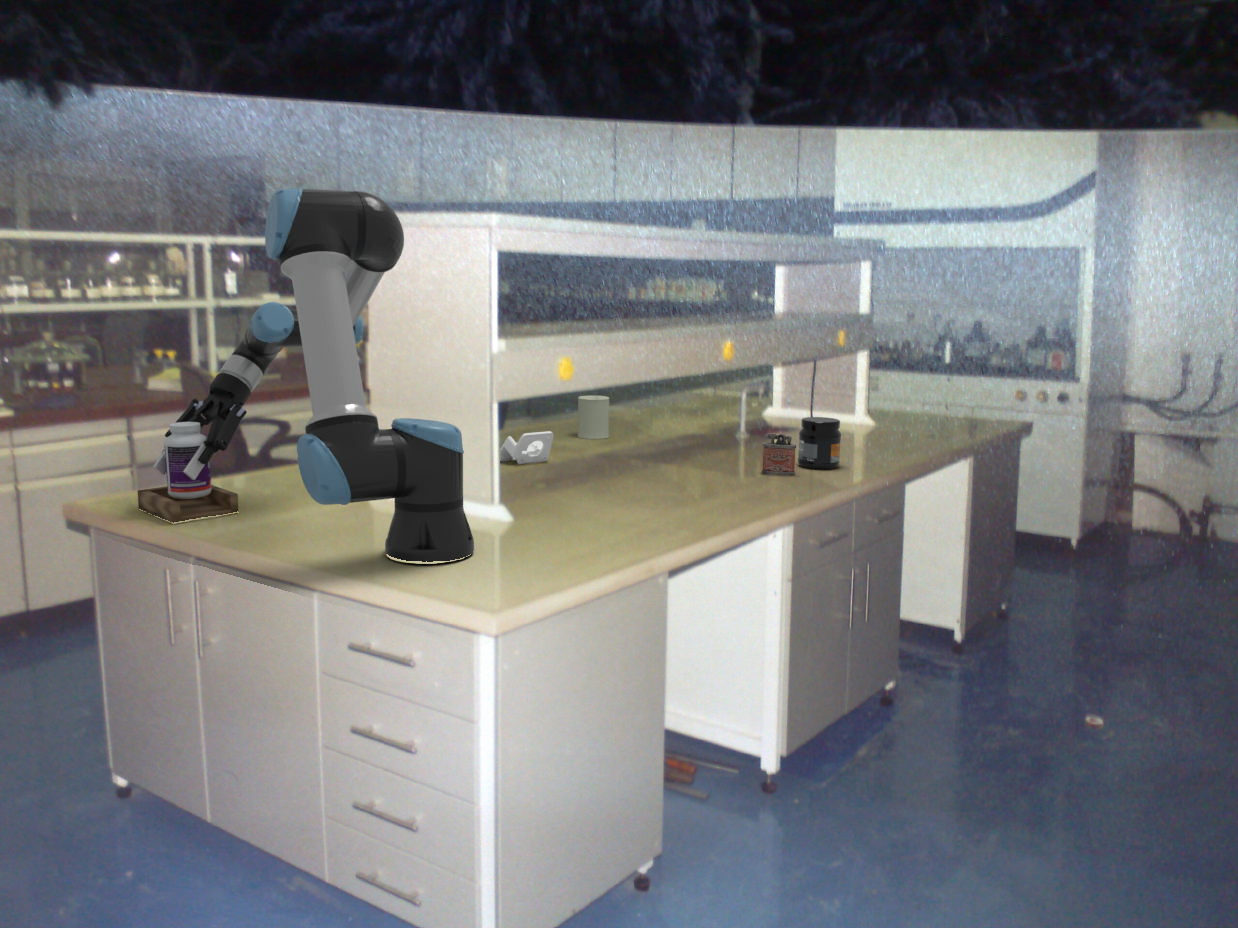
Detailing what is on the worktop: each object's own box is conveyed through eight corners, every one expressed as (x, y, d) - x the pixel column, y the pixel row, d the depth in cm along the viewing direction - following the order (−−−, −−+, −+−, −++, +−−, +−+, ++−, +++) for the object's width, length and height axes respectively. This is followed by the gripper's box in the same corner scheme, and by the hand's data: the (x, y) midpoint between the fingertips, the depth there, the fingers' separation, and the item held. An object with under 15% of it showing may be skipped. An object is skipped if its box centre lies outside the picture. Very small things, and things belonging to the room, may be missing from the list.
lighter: (795, 473, 254) (797, 433, 252) (794, 476, 251) (796, 435, 249) (762, 471, 256) (764, 431, 254) (760, 474, 253) (762, 433, 251)
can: (585, 440, 297) (586, 398, 295) (572, 435, 306) (572, 394, 303) (614, 438, 302) (615, 397, 299) (600, 433, 310) (600, 393, 307)
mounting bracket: (503, 472, 260) (511, 436, 255) (493, 458, 264) (500, 422, 259) (545, 468, 266) (554, 432, 261) (535, 454, 271) (543, 419, 265)
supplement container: (846, 466, 265) (849, 419, 262) (826, 472, 257) (829, 424, 254) (810, 460, 271) (812, 415, 269) (789, 466, 263) (791, 419, 261)
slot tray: (238, 513, 206) (237, 493, 205) (173, 524, 197) (171, 503, 196) (202, 500, 217) (201, 481, 216) (138, 510, 208) (137, 490, 207)
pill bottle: (219, 496, 206) (215, 424, 203) (179, 502, 200) (174, 428, 197) (199, 489, 211) (195, 419, 208) (160, 495, 205) (155, 423, 203)
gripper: (282, 398, 210) (222, 490, 200) (211, 390, 220) (150, 478, 209) (260, 374, 205) (198, 468, 194) (188, 367, 215) (125, 456, 204)
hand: (173, 473), depth 202 cm, fingers closed on pill bottle, 8 cm apart
